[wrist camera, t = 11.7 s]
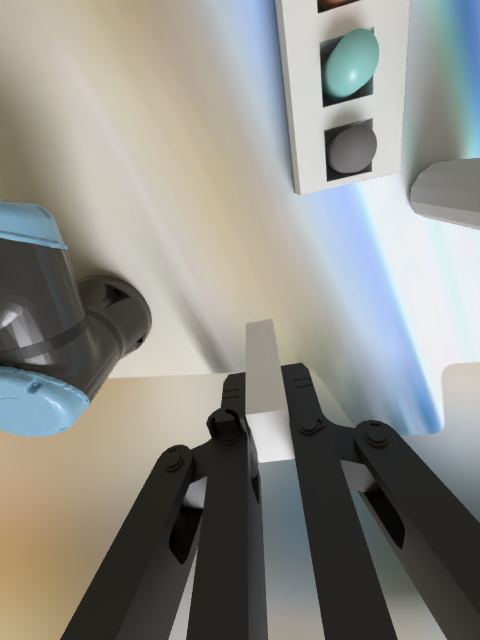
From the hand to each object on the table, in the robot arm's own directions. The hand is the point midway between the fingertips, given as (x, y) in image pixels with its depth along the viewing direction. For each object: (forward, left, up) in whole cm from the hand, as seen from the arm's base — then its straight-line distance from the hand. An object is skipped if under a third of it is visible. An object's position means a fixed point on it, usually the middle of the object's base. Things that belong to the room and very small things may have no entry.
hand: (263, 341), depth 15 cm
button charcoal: (+13, +9, -27) cm, 31 cm away
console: (+13, +16, -29) cm, 36 cm away
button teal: (+13, +16, -27) cm, 34 cm away
